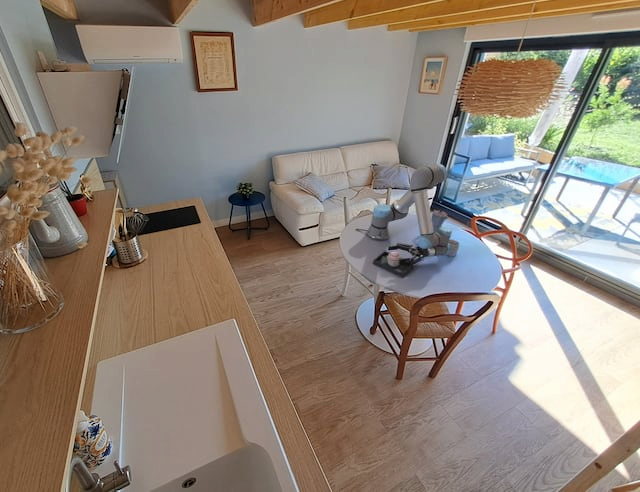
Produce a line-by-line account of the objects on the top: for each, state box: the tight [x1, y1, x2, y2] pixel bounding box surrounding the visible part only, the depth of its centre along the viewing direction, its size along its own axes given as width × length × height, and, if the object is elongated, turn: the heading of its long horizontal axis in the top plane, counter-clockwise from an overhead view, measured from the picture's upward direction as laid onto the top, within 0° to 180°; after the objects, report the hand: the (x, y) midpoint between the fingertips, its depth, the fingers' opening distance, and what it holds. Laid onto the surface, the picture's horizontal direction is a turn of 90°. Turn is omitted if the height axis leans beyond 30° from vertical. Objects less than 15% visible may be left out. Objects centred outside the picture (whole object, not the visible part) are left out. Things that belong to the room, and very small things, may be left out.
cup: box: [446, 239, 461, 258], centre depth 190 cm, size 7×10×9 cm
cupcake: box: [387, 250, 403, 267], centre depth 178 cm, size 9×9×10 cm
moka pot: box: [430, 207, 449, 233], centre depth 210 cm, size 10×15×20 cm, turn 27°
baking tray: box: [372, 250, 414, 278], centre depth 181 cm, size 20×15×3 cm
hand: (393, 254), depth 177 cm, fingers open, 13 cm apart
